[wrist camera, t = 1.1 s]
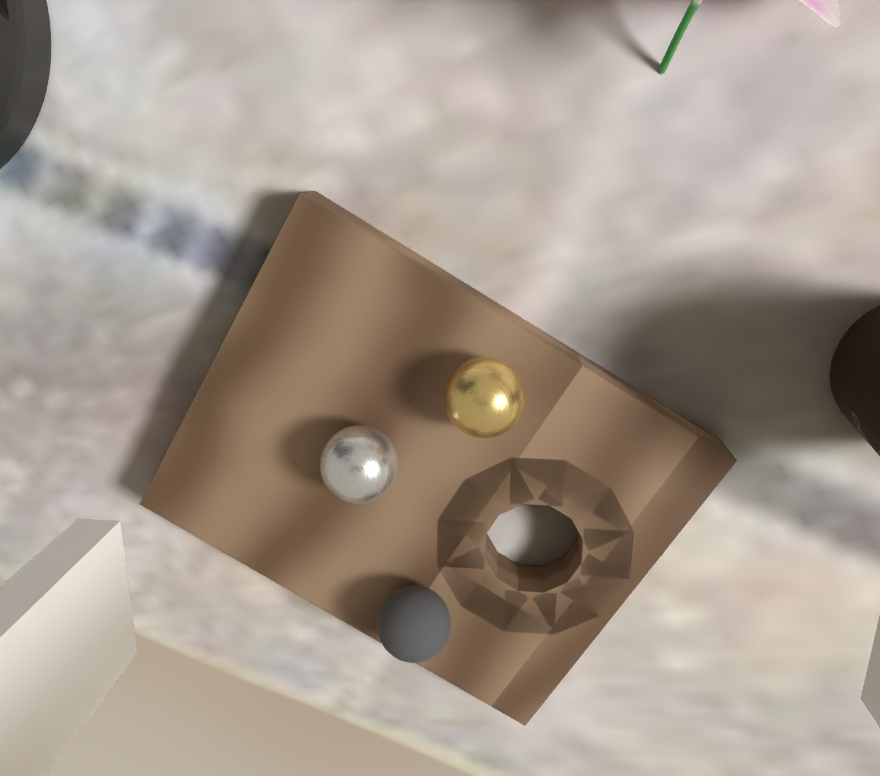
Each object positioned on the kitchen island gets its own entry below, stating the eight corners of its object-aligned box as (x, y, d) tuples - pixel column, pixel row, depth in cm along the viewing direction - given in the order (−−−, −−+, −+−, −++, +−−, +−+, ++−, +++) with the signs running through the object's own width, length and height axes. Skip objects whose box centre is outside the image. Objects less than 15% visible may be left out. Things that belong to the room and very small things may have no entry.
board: (163, 483, 38) (139, 504, 36) (315, 191, 33) (299, 192, 31) (524, 692, 40) (525, 725, 37) (721, 441, 35) (736, 460, 32)
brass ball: (433, 397, 33) (424, 422, 30) (473, 334, 32) (468, 352, 29) (498, 437, 33) (496, 465, 30) (540, 375, 32) (542, 397, 29)
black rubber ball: (371, 611, 36) (357, 654, 33) (406, 559, 35) (395, 598, 32) (431, 645, 37) (422, 691, 33) (466, 594, 36) (462, 637, 32)
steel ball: (317, 460, 34) (296, 490, 31) (352, 401, 33) (335, 425, 30) (380, 497, 35) (366, 531, 31) (417, 439, 34) (406, 468, 30)
